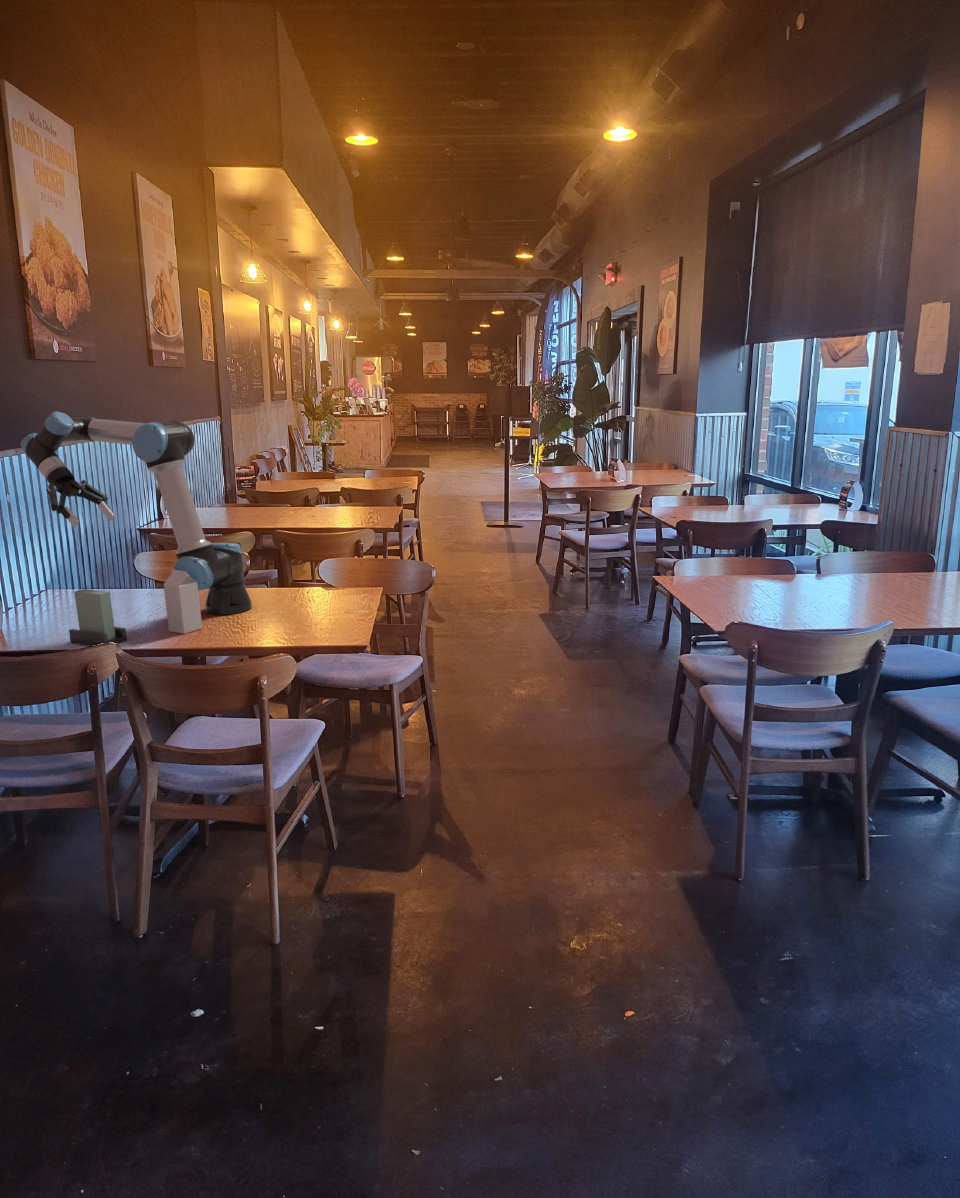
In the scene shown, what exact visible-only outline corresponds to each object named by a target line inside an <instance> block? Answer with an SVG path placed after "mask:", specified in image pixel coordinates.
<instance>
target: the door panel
mask: <svg viewBox="0 0 960 1198" xmlns="http://www.w3.org/2000/svg"><path fill="white" fill-rule="evenodd" d="M73 593H74V600H75V606H76V614H77V619H78V627H79V630H84V631H90V632H97V633H104V634H107V638H108V640H109V639H112V638H115V637H116V635H115V628H114V627H115V622H114V615H113V607H112V600H111V599H112V598H111V593H110V591H104V590H95V589H87V588H86V589H85V588H83V589H79V590H76V591H73Z"/></svg>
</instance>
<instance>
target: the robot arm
mask: <svg viewBox="0 0 960 1198" xmlns="http://www.w3.org/2000/svg"><path fill="white" fill-rule="evenodd" d="M76 441H88V442H103V443H109V444H120V445H127V446H128V445H129V446H132V449H133V452H134V454H135V455H136V457H137V458H139V459H140V460H141V461H143V462H145V465H146V467H147V468H146V469H147V470H148V471H149V472H151V473H153V474H154V477H155V479H156V483H157V485H158V488H159V491H160V494H161V498H162V500H163V504H164V506H165V509H166V513H167V515H168V519H169V522H170V525H171V528H172V531H173V535H174V537H175V540H176V543H177V545H178V548H177V549H176V551H175V556H176V559H177V561H176V562H175V565H174V567H173V570H177V571H184V572H187V574H188V575H189V576H190V578H192V579H193V580H195V581H196V582H197V585H198V592H199V591H204V590H207V589H208V593H207V598H206V601H205V612H206V613H208V614H210V615H218V616H219V615H220V616H222V615H234V614H239V613H240V614H241V613H245V612H246V611H249V610H251V609H252V608H253V605H252V600H251V597H250V595H249V592H248V590H247V588H246V584H245V575H244V566H243V553H242V549H241V546H240V544H239V543H234V542H211V541H208V540H207V539H206V537H205V533H204V531H203V527H202V525H201V521H200V518H199V515H198V512H197V509H196V505H195V503H194V500H193V497H192V493H191V491H190V487H189V484H188V481H187V477H186V475H185V472H184V468H183V465H184V464H185V462H186V458H185V456H187V455H188V454H189V453H191V452H192V450H193V449H194V446H195V441H196V440H195V435H194V431H192V429H191V428H190V426H189V425H187V424H185V423H184V422H182V421H178V420H173V421H172V420H171V421H170V420H169V421H152V422H151V421H150V422H147V423H145V422H144V423H143V422H133V421H122V420H113V419H103V418H95V417H92V416H82V417H70V416H69V415H68V414H67V413H64V412H60V411H58V410H57V411H53V412H52V413H51V414H49V416H48V417H47V418H46V419H45V421H44V423H43V424H42V426H41V427H40V429H39V430H38V432H37V433H36V432H33V433H30V434H28V435H27V436H26V437H24V438H23V439H21V442H20V447H21V449H22V450H23V452H24V453H25V455H26V457H27V458H28V459H29V460H30V461H31V462H32V464H34V466H36V469H38V471H39V472H40V473H41V475H42V476H43V477H44V478H45V480H46V481H47V482H48V486H47V487H46V489H45V490H46V492H47V493H48V496H49V503H50V509H51V511H52V512H56V513H57V514H58V515H60V514H61V515H62V517H63V518H65V519H67V520H68V522H69V523H70V524H71V526H72V527H73V528H77V526H78V524H79V523H80V521H79V519H78V518H77V516H76V515H75V514H74V513H73V512H72V510H71V509H70V507H68V506H65V505H66V500H67V497H68V498H70V497H78V498H84V499H85V500H87V501H89V502H91V503H93V504H96V505H97V507H98V509H99V511H101V512H102V514H103V515H104V516H105V518H106V519H107V520H108V521H109V522H111V521H113V519H114V517H115V514H114V513H113V511H112V510H111V507H110V506H109V505H108V503H107V502H108V500H109V497H108V496H107V495H105V494H104V493H103V492H102V491H99V490H98V489H96V488H95V487H94V486H92V485H90V484H89V483H88V482H87V481H86V480H85V479H83V480H81V482H78V481H76V480H75V476H74V474H73V473H72V472H71V470H70V469H69V468H68V467H67V465H66V464H65V463H64V462H63V460H62V459H61V458H60V456H59V455H58V454H57V451H58V450H59V448H60V447H61V446H62V444H63V443H66V442H76ZM57 492H58V493H59V495H60V496H59V502H58V496H57Z"/></svg>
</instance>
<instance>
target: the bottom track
mask: <svg viewBox="0 0 960 1198" xmlns="http://www.w3.org/2000/svg"><path fill="white" fill-rule="evenodd" d="M114 628H115V635H116V637H115V638H112V639H109V640H108V638H107V634H104V633H97V632H90V631H84V630H80V629H76V628H70V629H69V630H68V633H69V640H70V641H69V642H70V643H71V642H72V643H71V644H76V643H80V644H79V645H83V646H91V647H93V646H92V645H98V644H101V643H109V642H114V643H117V644H116V645H119V644H122V643H125V642H128V636H127V630H126V629H127V628H125V627H120V626H114Z"/></svg>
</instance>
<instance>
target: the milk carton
mask: <svg viewBox="0 0 960 1198" xmlns="http://www.w3.org/2000/svg"><path fill="white" fill-rule="evenodd" d="M170 571H171V574H170V575H169V576H168V578H167V579H166V580H165V582H164V583H163V589H164V590H163V591H164V600H165V607H166V614H167V624H168V631H169V632H172V633H176V634H177V633H178V634H183V635H185V634H188V633H191V632H195V631H197V630H201V629H203V625H202V615H201V614H202V613H201V605H200V596H199V595H200V594H199V591H198V585H197V582H196V581H195V580H193V579H192V578H190V576H189V575H188V574H187V572H184V571H177V570H174V569H171V570H170Z"/></svg>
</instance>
